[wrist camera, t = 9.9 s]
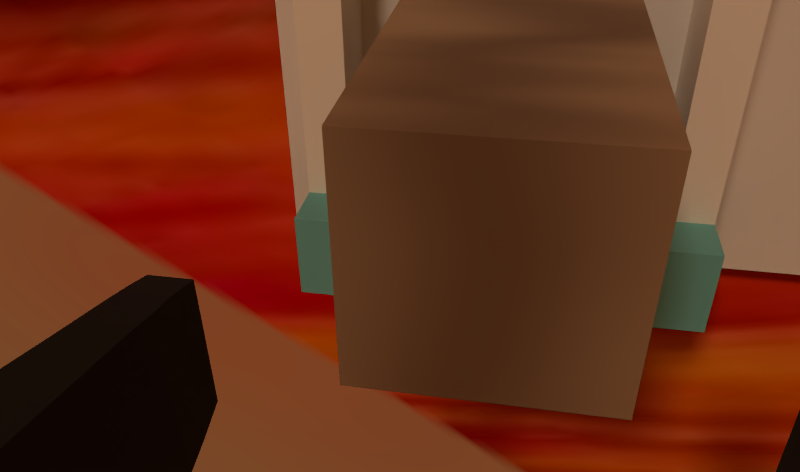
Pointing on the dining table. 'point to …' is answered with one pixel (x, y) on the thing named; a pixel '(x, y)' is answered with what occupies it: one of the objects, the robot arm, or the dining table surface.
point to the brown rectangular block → (504, 203)
